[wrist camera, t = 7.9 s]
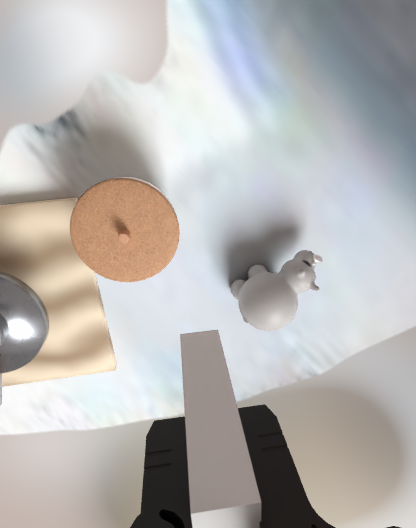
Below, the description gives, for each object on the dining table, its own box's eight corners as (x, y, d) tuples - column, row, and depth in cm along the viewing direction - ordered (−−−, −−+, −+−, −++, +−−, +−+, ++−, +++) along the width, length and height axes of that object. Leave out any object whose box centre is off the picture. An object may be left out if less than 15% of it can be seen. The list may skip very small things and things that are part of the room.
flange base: (-104, 216, 37) (-173, 235, 29) (77, 197, 38) (55, 211, 31) (-28, 383, 45) (-67, 432, 38) (116, 363, 47) (106, 406, 39)
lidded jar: (70, 225, 39) (42, 251, 30) (119, 151, 37) (103, 155, 28) (145, 272, 42) (139, 307, 34) (195, 207, 40) (201, 226, 31)
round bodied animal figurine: (320, 264, 45) (352, 291, 37) (252, 317, 47) (269, 353, 39) (291, 226, 42) (319, 246, 34) (220, 283, 44) (232, 315, 36)
